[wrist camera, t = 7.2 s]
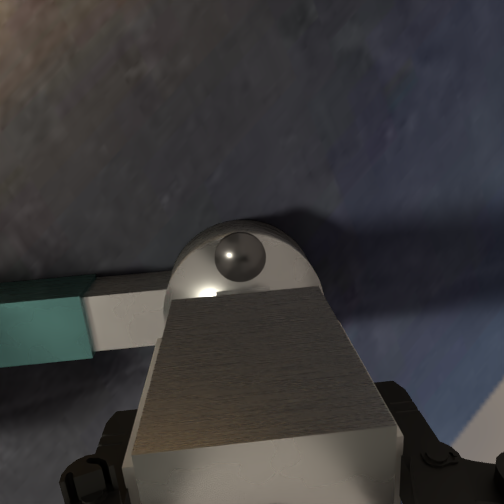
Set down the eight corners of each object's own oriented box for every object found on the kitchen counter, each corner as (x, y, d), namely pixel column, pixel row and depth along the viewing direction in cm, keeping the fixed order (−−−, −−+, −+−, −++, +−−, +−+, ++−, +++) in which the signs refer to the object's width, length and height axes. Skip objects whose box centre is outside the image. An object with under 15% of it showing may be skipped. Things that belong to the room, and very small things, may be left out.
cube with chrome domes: (172, 299, 17) (129, 460, 9) (318, 285, 17) (399, 430, 9) (189, 421, 19) (167, 642, 11) (321, 407, 19) (392, 613, 11)
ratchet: (310, 209, 23) (347, 250, 16) (314, 344, 25) (347, 426, 19) (-96, 245, 22) (-232, 305, 15) (-48, 381, 25) (-147, 482, 18)
